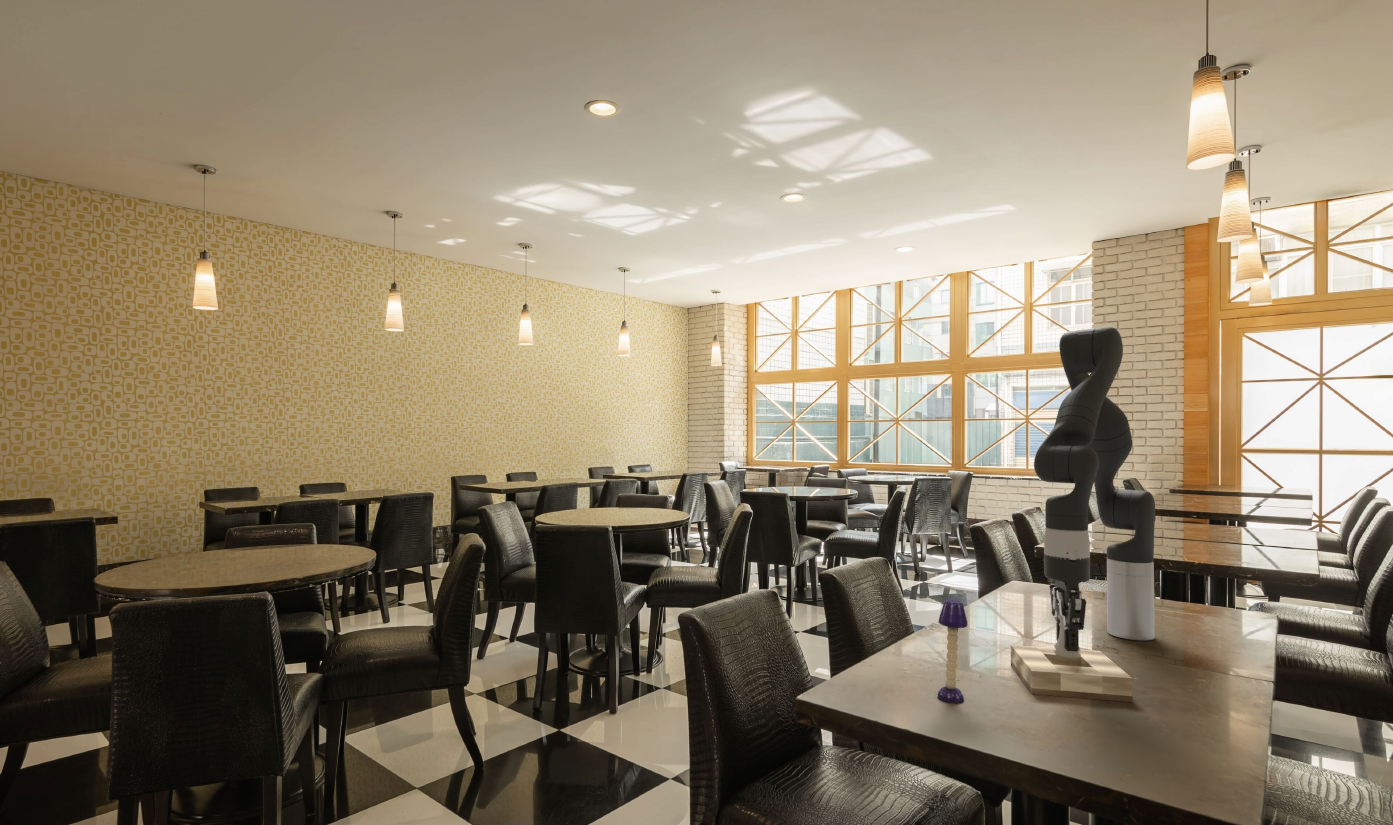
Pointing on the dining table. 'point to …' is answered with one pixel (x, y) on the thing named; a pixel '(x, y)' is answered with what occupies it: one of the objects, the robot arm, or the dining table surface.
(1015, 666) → the socket block
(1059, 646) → the rook chess piece
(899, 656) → the dining table surface
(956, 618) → the toy lamp
